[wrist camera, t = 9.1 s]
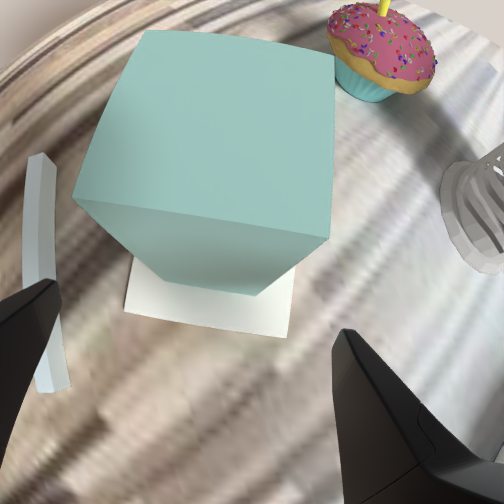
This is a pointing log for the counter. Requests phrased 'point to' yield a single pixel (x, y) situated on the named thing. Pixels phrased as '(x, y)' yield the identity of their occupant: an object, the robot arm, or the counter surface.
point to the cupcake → (379, 52)
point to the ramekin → (500, 456)
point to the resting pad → (211, 303)
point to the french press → (476, 210)
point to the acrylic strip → (43, 262)
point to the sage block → (215, 158)
